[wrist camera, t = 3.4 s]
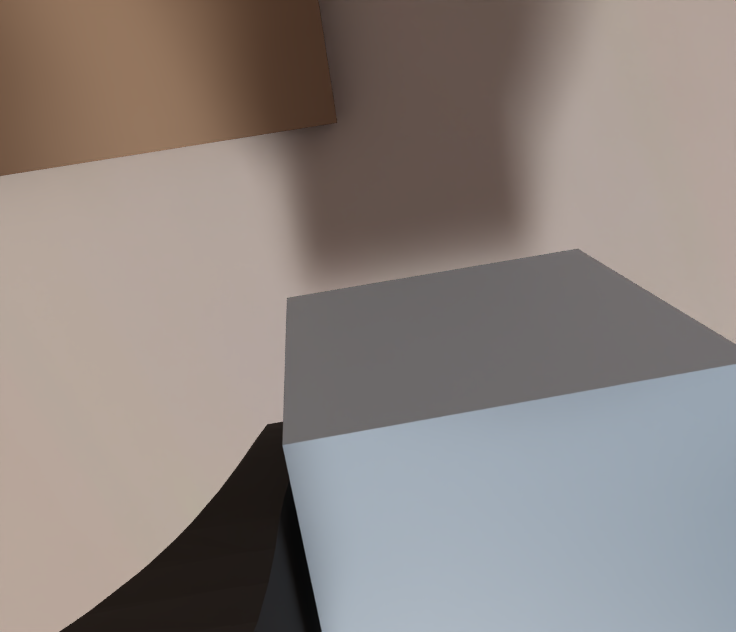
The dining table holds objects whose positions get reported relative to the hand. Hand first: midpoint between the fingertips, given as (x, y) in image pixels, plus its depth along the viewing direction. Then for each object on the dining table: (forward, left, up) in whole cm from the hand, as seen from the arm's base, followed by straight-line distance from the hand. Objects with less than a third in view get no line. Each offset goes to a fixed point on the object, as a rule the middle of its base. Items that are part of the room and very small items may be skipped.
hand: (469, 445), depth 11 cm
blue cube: (0, 0, -2) cm, 2 cm away
